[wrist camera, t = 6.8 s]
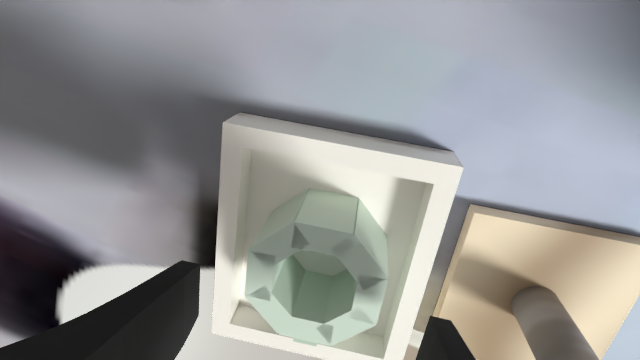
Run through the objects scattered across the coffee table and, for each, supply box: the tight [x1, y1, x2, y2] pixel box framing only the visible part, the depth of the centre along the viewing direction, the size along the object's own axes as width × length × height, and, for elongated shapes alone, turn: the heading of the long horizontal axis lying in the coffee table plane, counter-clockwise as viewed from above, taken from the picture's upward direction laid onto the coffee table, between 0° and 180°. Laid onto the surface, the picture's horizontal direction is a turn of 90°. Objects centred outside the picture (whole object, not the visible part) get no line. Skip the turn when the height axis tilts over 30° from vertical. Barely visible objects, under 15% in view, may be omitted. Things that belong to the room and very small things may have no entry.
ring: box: [244, 188, 388, 346], centre depth 15 cm, size 5×6×3 cm
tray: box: [212, 112, 464, 360], centre depth 16 cm, size 9×10×2 cm
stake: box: [433, 204, 640, 360], centre depth 14 cm, size 7×7×5 cm
